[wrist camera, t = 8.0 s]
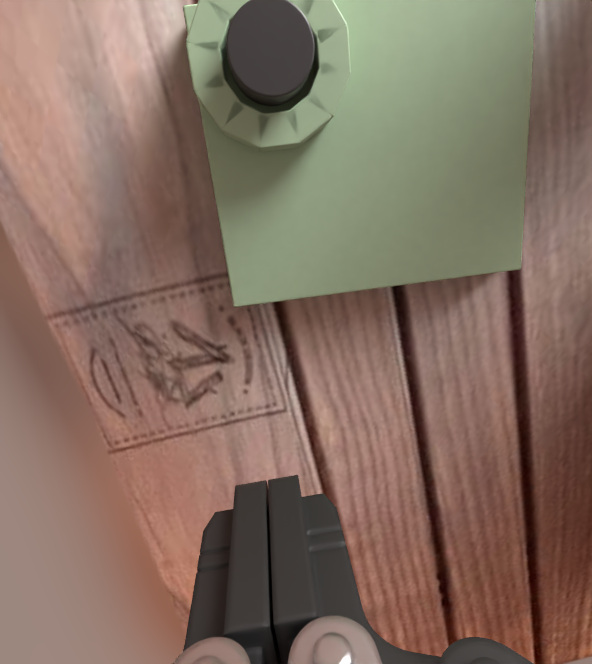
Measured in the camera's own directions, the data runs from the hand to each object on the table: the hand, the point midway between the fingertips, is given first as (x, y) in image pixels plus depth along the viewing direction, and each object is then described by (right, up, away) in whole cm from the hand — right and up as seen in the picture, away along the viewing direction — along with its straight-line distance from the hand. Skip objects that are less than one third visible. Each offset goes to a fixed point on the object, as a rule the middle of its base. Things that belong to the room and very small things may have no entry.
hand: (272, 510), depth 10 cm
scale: (+4, +12, +9) cm, 16 cm away
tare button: (0, +14, +6) cm, 15 cm away
